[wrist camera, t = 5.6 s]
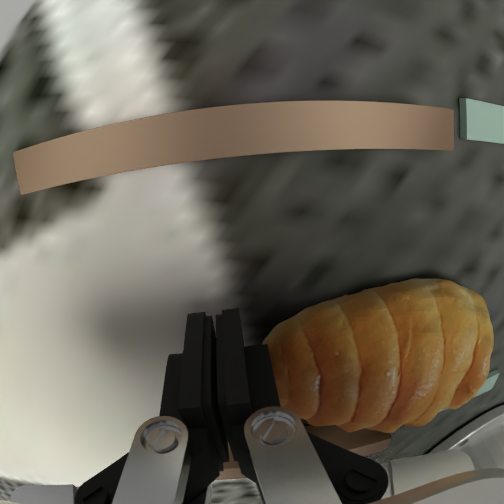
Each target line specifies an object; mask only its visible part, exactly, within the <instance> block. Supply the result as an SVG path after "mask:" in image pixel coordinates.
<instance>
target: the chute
mask: <svg viewBox="0 0 504 504" xmlns="http://www.w3.org/2000/svg"><path fill="white" fill-rule="evenodd" d="M336 149H430V150H452V151H454V109H447V108H439V107H431V106H422V105H411V104H400V103H385V102H366V101H287V102H267V103H252V104H240V105H229V106H220V107H211V108H203V109H195V110H188V111H181V112H174V113H168V114H162V115H156V116H150V117H145V118H140V119H135V120H130V121H125V122H120V123H115V124H111V125H107V126H102V127H98V128H94V129H90V130H86V131H82V132H78V133H75V134H71V135H67V136H64V137H60V138H57V139H53V140H50V141H47V142H43V143H40V144H37V145H34V146H31V147H28V148H25V149H22V150H19V151H16V152H13V156H14V162H15V168H16V173H17V179H18V184H19V189H20V193H21V195H23V194H27V193H31V192H34V191H38V190H42V189H46V188H51V187H55V186H59V185H63V184H68V183H72V182H77V181H81V180H86V179H91V178H96V177H101V176H106V175H111V174H116V173H122V172H127V171H133V170H139V169H145V168H151V167H157V166H163V165H170V164H177V163H184V162H192V161H199V160H207V159H216V158H225V157H234V156H244V155H255V154H267V153H280V152H294V151H312V150H336ZM304 428H305V430H306V431H307V432H309V433H311V434H313V435H315V436H317V437H319V438H322V439H324V440H326V441H328V442H330V443H333V444H335V445H337V446H339V447H342V448H344V449H346V450H349V451H351V452H354V453H356V454H358V455H361V456H363V457H364V456H367V455H371V454H374V453H378V452H381V451H384V450H387V448H388V446H389V444H390V441H391V439H392V437H391V435H390V433H385V432H381V431H377V430H370V429H367V428H363V429H360V430H357V431H354V432H347V431H345V430H343V429H342V428H340V427H338V426H336V425H331V426H313V425H309V426H304ZM228 446H229V442H228ZM223 468H224V471H220V476H219V477H218V478H216V479H215V480H223V479H238V478H247V477H246V476H244V475H243V474H241V471H240V467H239V464H238V461H234V459H233V456H232V452H231V449H230V446H229V462H223Z"/></svg>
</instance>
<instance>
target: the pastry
mask: <svg viewBox="0 0 504 504" xmlns="http://www.w3.org/2000/svg"><path fill="white" fill-rule="evenodd" d="M262 344H267V345H268V349H269V354H270V358H271V363H272V368H273V372H274V377H275V382H276V386H277V391H278V396H279V400H280V405H281V407H284V408H287V409H290V410H291V411H293V412H294V413H296V414H297V415H298V417H299V418H301V419H305V420H306V421H307V422H308V423H309V424H311V425H313V426H331V425H336V426H338V427H340V428H342V429H343V430H345V431H347V432H354V431H357V430H360V429H363V428H367V429H370V430H377V431H381V432H385V433H392V432H394V431H396V430H397V429H398V428H399V427H400V426H402V425H406V426H416V427H419V426H423V425H425V424H427V423H429V422H430V421H431V420H432V419H433V418H434V417H435V416H436V414H437V413H438V412H439V411H440V410H441V409H450V408H451V409H457V408H459V407H461V406H462V405H464V404H466V403H467V402H468V401H469V400H470V399H472V398H473V397H475V395H476V394H477V392H478V391H479V390H480V388H481V387H482V386H483V384H484V383H485V381H486V378H487V375H488V373H489V368H490V356H491V353H492V349H493V346H494V335H493V327H492V324H491V321H490V317H489V312H488V309H487V306H486V302H485V301H484V299H483V298H482V297H481V296H480V295H479V294H478V293H476V292H474V291H472V290H470V289H468V288H466V287H463V286H460V285H458V284H456V283H455V282H453V281H450V280H444V279H439V278H436V279H420V278H414V279H410V280H406V281H402V282H398V283H390V284H388V285H386V286H381V287H375V288H370V289H364V290H363V291H361V292H359V293H355V294H351V295H344V296H342V297H338V298H334V299H331V300H327V301H324V302H321V303H319V304H317V305H314V306H311V307H308V308H305V309H304V310H302V311H301V312H299V313H298V314H296V315H295V316H293V317H291V318H289V319H287V320H285V321H283V322H281V323H279V324H278V325H276V326H275V327H274V328H273V329H272V331H271V332H270V333H269V334H268V336H267V337H266V338H265V339H264V341H263V343H262Z"/></svg>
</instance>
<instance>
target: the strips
mask: <svg viewBox="0 0 504 504" xmlns="http://www.w3.org/2000/svg"><path fill="white" fill-rule="evenodd" d="M459 104H460V138H462V139H467V140H477V141H486V142H495V143H502V144H504V106H500V105H495V104H491V103H486V102H482V101H477V100H472V99H467V98H459ZM499 374H500V372H499V371H498V370H497V369H496V370H494V371H492V372H490V373H488V375H487V378H486V381H485V383H484V384H483V386H482V387H481V388H480V390H479V391H478V392H477V394H476V395H475V397H476V396H478V395H480V394H482V393H484V392H487V391H489V390H491V389H492V388H493V386H494V384H495V382H496V380H497V378H498V376H499ZM473 398H474V397H473ZM443 410H445V409H441V410H440V411H443ZM440 411H439V412H440Z"/></svg>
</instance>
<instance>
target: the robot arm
mask: <svg viewBox="0 0 504 504" xmlns="http://www.w3.org/2000/svg"><path fill="white" fill-rule="evenodd" d="M228 442H229V446H230V449H231V452H232V456H233V459H234V461H238V464H239V467H240V471H241V474H243V475H244V476H246V477H247V478H249V479H250V480H252V481H254V482H255V483H256V486H257V490H258V493H259V496H260V499H261V502H262V504H504V405H501V406H499V407H496V408H494V409H492V410H490V411H489V412H487V413H485V414H483V415H482V416H480V417H478V418H477V419H475V420H473V421H472V422H470V423H469V424H467V425H466V426H464V427H463V428H461V429H460V430H458V431H457V432H456V433H454V434H453V435H451V436H450V437H448V438H447V439H446V440H445V441H443V442H442V443H441V444H439V445H438V446H437V447H435V448H434V449H433V450H432V451H430V452H429V453H428V454H425V455H419V456H413V457H406V458H399V459H391V460H390V462H388V463H377V462H375V461H373V460H371V459H368V458H366V457H363V456H361V455H358V454H356V453H354V452H351V451H349V450H346V449H344V448H342V447H339V446H337V445H335V444H333V443H330V442H328V441H326V440H324V439H322V438H319V437H317V436H315V435H313V434H311V433H309V432H307V431H306V430H305V428H304V426H303V423H302V421H301V419H300V418H299V417H298V415H297V414H296V413H294V412H293V411H291V410H290V409H287V408H284V407H281V405H280V400H279V396H278V391H277V386H276V382H275V377H274V372H273V368H272V363H271V358H270V354H269V349H268V345H267V344H262V345H255V346H247V347H244V342H243V335H242V328H241V321H240V314H239V308H234V309H226V310H222V314H221V315H216V334H215V329H214V324H213V319H212V316H206V314H205V312H200V313H191V314H188V316H187V324H186V332H185V341H184V350H183V353H181V354H170V355H169V357H168V361H167V367H166V374H165V380H164V387H163V394H162V401H161V409H160V416H158V417H155V418H151V419H149V420H148V421H146V422H144V423H143V424H142V425H141V426H140V427H139V429H138V430H137V432H136V434H135V437H134V440H133V443H132V446H131V449H130V451H129V453H127V454H126V455H124V456H123V457H121V458H120V459H119V460H117V461H116V462H114V463H113V464H111V465H110V466H108V467H107V468H106V469H104V470H103V471H101V472H100V473H98V474H97V475H95V476H94V477H92V478H91V479H89V480H88V481H86V482H85V483H83V484H82V485H81V486H80V487H75V486H74V485H73V484H72V485H24V486H20V487H18V488H17V489H15V490H14V492H13V493H12V495H11V499H10V502H9V501H2V500H0V504H210V499H211V492H212V482H213V481H214V480H215V479H216V478H218V477H219V476H220V471H224V468H223V462H229V446H228Z"/></svg>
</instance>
